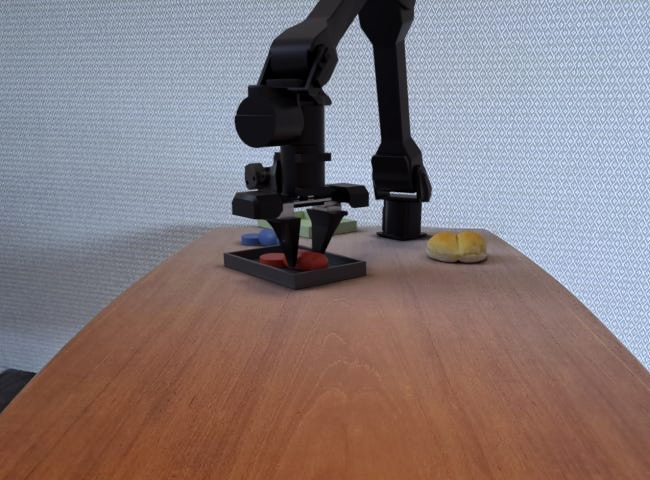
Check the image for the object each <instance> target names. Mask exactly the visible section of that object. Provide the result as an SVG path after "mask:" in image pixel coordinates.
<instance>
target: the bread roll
mask: <svg viewBox="0 0 650 480" xmlns="http://www.w3.org/2000/svg"><path fill="white" fill-rule="evenodd" d="M487 247H488V243H487V241H486V240H485V238H484V237H483V235H481V234H479V233H478V232H475V231H472V230H465V231H463V232H460V233H458V234H457V233H454V232H451V231H441V232H438V233H435V234H434V235H433V236H432V237H431V238H430V239H429V240H428V241H427V244H426V254H427V256H428V257H430V258H431V259H434V260H437V261H439V262H443V263H456V262H458V261H459V262H461V263H463V264H464V263H466V264H468V263H469V264H470V263H479V262H481V261H484V260H485V259H486V258H487V254H488V251H487Z"/></svg>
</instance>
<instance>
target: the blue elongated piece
mask: <svg viewBox="0 0 650 480" xmlns="http://www.w3.org/2000/svg"><path fill="white" fill-rule="evenodd" d="M240 238H241V239H240V240H241V244H242V245H245V246H263V247H266V246H273V245H280V243H279V240H278V238H277V236H276V234H275V232H274V230H273V229H269V228H263V229H261V230H260V231H259V232H252V233H245V234H242V235H241V236H240Z"/></svg>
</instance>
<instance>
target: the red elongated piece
mask: <svg viewBox="0 0 650 480" xmlns="http://www.w3.org/2000/svg"><path fill="white" fill-rule="evenodd" d="M260 263H262V264H265V265H269V266H272V267H275V268H285V267H288V268H291V267H289V266H288V264H287V261H286V258H285V256H284V253H270V254H264V255H261V256H260ZM328 265H329V263H328V259H327V257H326V256H325V255H323V254H321V253H316V252H311V251H306V250H301V249H298V256H297V262H296V266H295V268H291V269H295V270H300V271H304V272H306V271H312V270H317V269H323V268H328Z"/></svg>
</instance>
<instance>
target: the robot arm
mask: <svg viewBox="0 0 650 480" xmlns="http://www.w3.org/2000/svg"><path fill="white" fill-rule="evenodd" d="M416 2H417V0H318V1H317V3H316V4H315V5H314V7H313V8H312V10H311V11H310V12H309V14H308V15H307V17H305V19H303V21H301V22H298V23H297V24H294V25H292V26H290V27H288V28H286V29H285V30H283V31H282V32H281V33H280V34H279V35H277V36H276V37H275V38H274V39H273V40H272V42H271V44H270V46H269V48H268V53H267V56H266V57H265V61H264V64H263V67H262V69H261V72H260V74H259V77H258V79H257V82H256V84H248V85H247V96H246V97H245V98H244V99H242V100H241V102H240V103H239V105H238V106H237V108H236V113H235V115H234V127H235V131H236V135H237V136H238V138H239V139H240V140H241V141H242V143H243V144H244V145H246V146H247V147H249V148H253V149H263V148H264V149H265V148H275V147H279V151H274V153H273V158H272V159H273V161H272V165H271V166H264V165H263V163H261V162H250V163H248V164H246V165H245V166H244V183H245V187H246V189H247V190H248V191H237V192H235V195H234V196H233V198H232V200H231V215H233V216H237V217H241V218H246V219H250V220H253V221H254V220H256V221H257V220H266V221H267V222H268V223H269V224H270V225H271V227H272V228H273V229H272V230H274V232H275V234H276V236H277V238H278V240H279V243H280V245H281V248H282V251H283V253H284V256H285V258H286V261H287V264H288V266H289V267H291V268H295V266H296V262H297V256H298V246H299V245H300V236H299V235H300V225H301V218H299V217H294V212H295V209H300V208H305V211H307V213H308V216H309V218H310V220H311V224H312V238H311V248H312V252H316V253H321V254H323V255H324V253H325V251H327V249H328V247H329V245H330V242H331V240H332V238H333V236H334V235H335V234H334V232H335V231H336V229H337V227H338V225H339V224H340V222H341V220H342V218H345V217H347V216H348V215H349V211H348V210H342V208H343V207H342V204H348V205H349V207H350V208H351V209H360V208H368V207H370V192H369V191H368V189H367V187H366V185H364V184H357V183H350V182H337V183H327V184H326V162H332V152H326V145H325V144H326V127H325V126H326V125H325V124H326V121H325V120H326V116H325V115H326V114H325V113H326V112H325V110H326V106H331V105H332V104H333V101H332V99H331V97H330V96H329V95H328V94H327V93H326V92H325V91H324V89H323V87H324V86H327V84H328V83H329V82H330V80H331V78H332V76H333V73H334V71H335V69H336V67H337V65H338V62H339V55H338V50H337V48H338V45H339V43H340V42H341V40H342V38H343V37H344V36H345V34H346V32H347V31H348V29H349V28H350V27H351V25H352V24H353V22H354V21H355V19H356V17H358V22H359V27H360V29H361V31H362V32H363V34H365V36H366V38H367V40H368V41H369V43H370V44H371V45H372V55H373V56H372V57H373V67H374V76H375V77H374V79H375V87H376V88H375V89H376V99H377V110H378V122H379V123H378V124H379V134H380V143H379V145H378V147H377V150H376V151H375V154H373V155H371V158H370V164H371V180H372V188H373V194H374V200H375V201H380V200H381V201H383V207H382V209H381V210H382V211H381V212H382V214H381V231H376V234H375V235H376V236H380V237H385V238H390V239H394V240H399V241H404V240H410V239H416V238H423V237H427V236H428V233H427V232H424V231H422V213H423V212H422V210H423V203H430V202H431V198H432V196H433V195H432V193H433V186H432V184H431V180H430V177H429V175H428V172H427V170H426V167H425V165H424V160H423V152H422V150H421V149H420V147H419V145H417V143H416V141H415V140H414V138H413V137H412V134H411V120H410V105H409V103H410V101H409V88H408V72H407V71H408V69H407V56H406V37H407V35H408V33H409V31H410V29H411V26H412V24H413V22H414V20H415V6H416ZM308 207H310V208H308Z"/></svg>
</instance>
